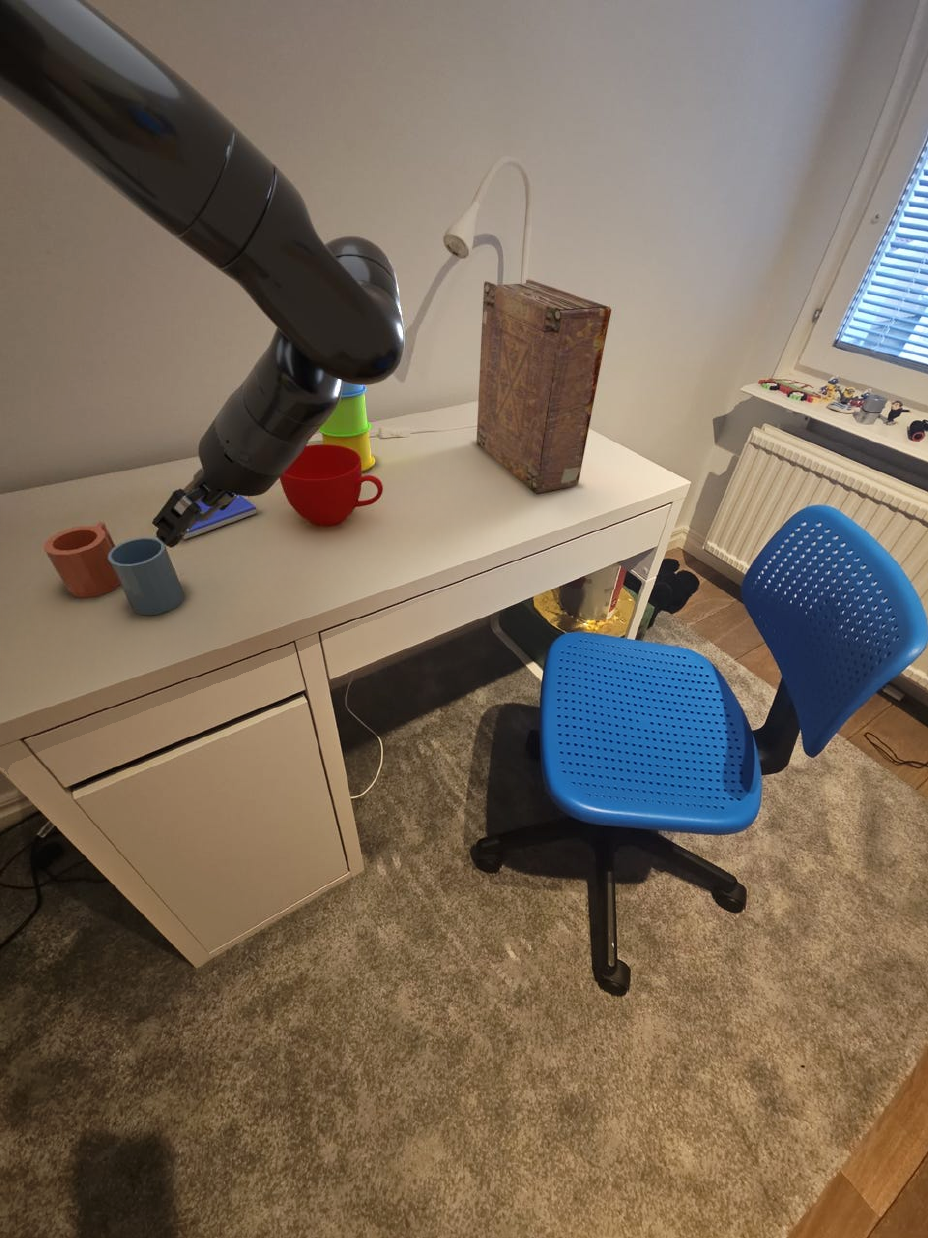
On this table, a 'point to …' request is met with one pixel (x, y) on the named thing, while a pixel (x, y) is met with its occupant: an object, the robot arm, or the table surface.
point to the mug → (83, 559)
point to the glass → (146, 575)
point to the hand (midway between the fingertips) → (192, 521)
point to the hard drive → (223, 516)
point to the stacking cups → (350, 424)
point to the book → (538, 380)
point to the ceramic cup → (326, 484)
